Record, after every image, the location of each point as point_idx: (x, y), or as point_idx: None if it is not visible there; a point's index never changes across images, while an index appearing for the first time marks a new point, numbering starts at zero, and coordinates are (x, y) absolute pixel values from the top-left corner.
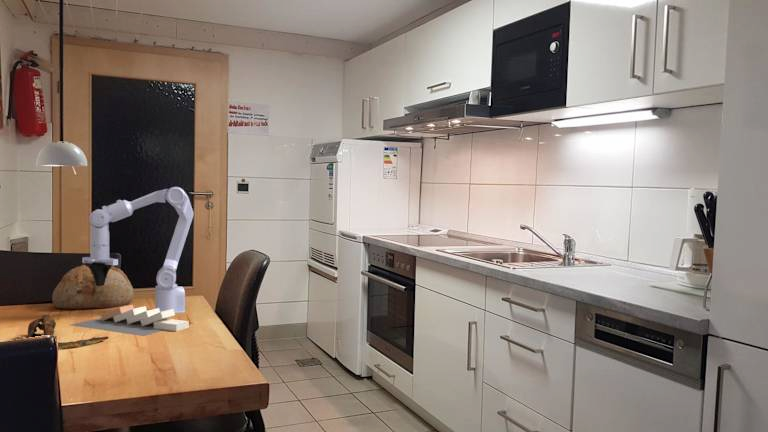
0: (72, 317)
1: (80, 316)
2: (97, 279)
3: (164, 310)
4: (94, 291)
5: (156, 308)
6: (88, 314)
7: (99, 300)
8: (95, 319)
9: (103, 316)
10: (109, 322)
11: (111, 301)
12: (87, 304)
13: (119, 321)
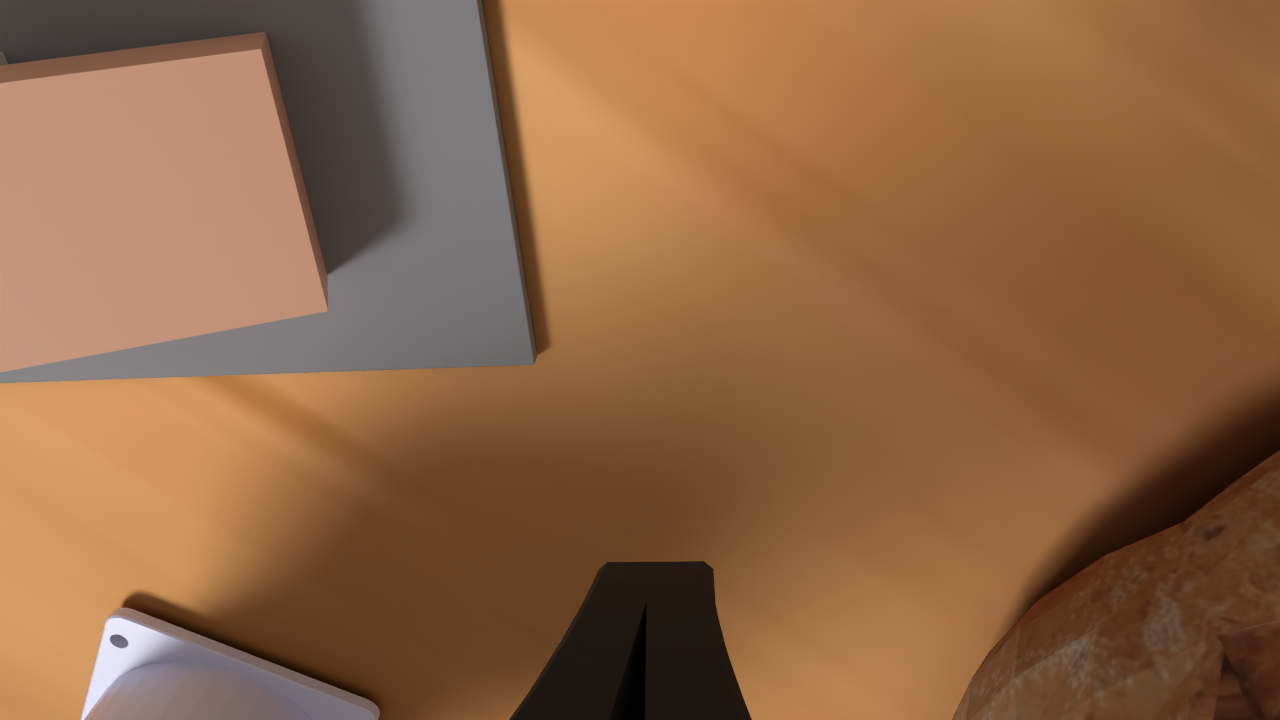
0: (1030, 4)
1: (969, 127)
2: (581, 676)
3: (103, 703)
4: (1244, 715)
5: (195, 705)
6: (978, 284)
7: (1089, 618)
8: (453, 45)
9: (204, 50)
10: (72, 17)
11: (969, 702)
12: (1248, 489)
13: None
